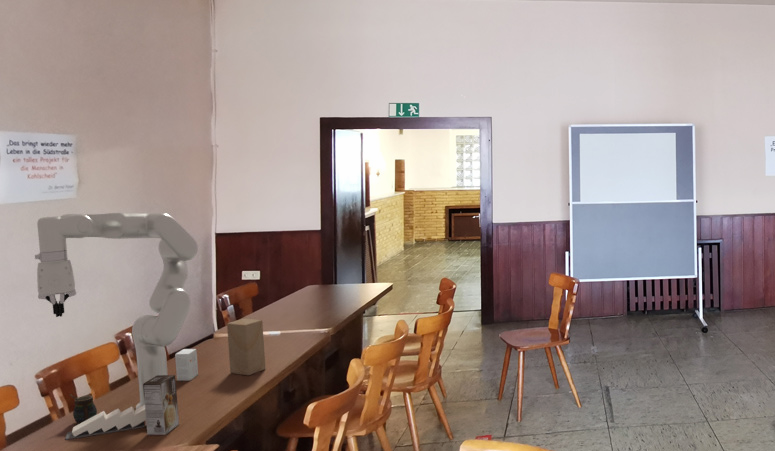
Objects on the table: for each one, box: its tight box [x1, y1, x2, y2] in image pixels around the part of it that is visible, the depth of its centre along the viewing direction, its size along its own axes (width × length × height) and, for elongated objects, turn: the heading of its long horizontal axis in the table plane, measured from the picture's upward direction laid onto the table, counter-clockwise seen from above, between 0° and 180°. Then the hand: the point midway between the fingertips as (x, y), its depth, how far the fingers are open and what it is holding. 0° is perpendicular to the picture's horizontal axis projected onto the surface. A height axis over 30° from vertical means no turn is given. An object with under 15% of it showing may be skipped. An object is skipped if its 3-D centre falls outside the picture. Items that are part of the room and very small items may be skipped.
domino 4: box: [116, 405, 146, 430], centre depth 228 cm, size 5×2×10 cm
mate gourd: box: [69, 393, 98, 424], centre depth 234 cm, size 7×8×10 cm
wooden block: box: [226, 318, 267, 376], centre depth 285 cm, size 10×10×20 cm
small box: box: [174, 348, 199, 382], centre depth 281 cm, size 8×6×10 cm
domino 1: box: [71, 410, 107, 437], centre depth 224 cm, size 5×2×10 cm
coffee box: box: [143, 374, 180, 436], centre depth 223 cm, size 9×6×16 cm
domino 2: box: [87, 408, 122, 434], centre depth 225 cm, size 5×2×10 cm
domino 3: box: [102, 406, 135, 432], centre depth 227 cm, size 5×2×10 cm
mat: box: [65, 421, 146, 441], centre depth 226 cm, size 6×23×1 cm, turn 110°
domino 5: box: [130, 415, 146, 428], centre depth 229 cm, size 5×2×10 cm
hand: (59, 315), depth 222 cm, fingers closed
